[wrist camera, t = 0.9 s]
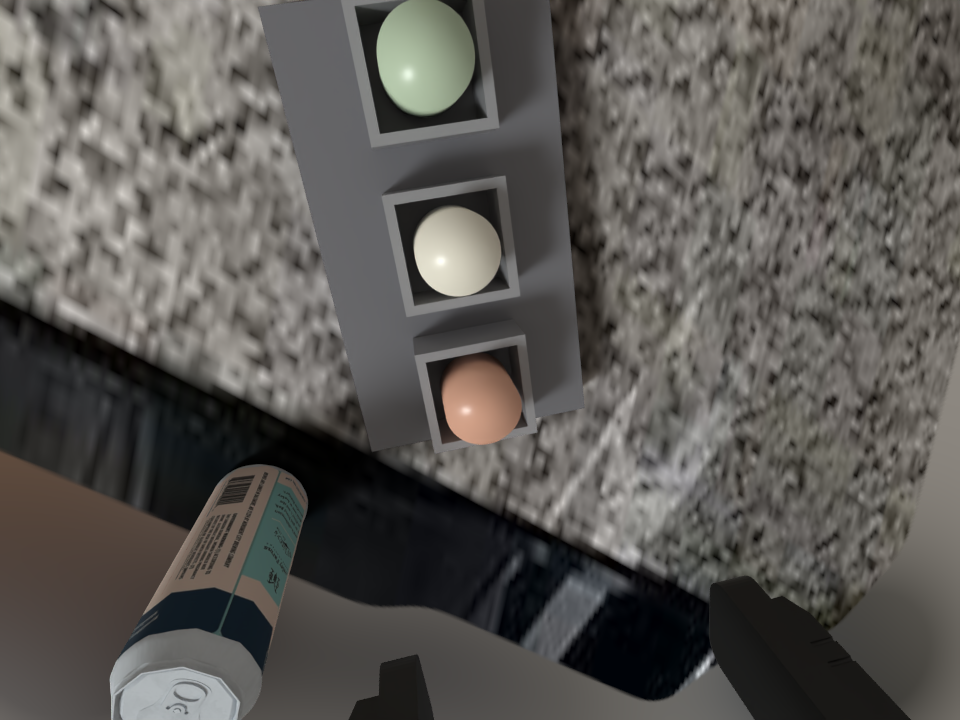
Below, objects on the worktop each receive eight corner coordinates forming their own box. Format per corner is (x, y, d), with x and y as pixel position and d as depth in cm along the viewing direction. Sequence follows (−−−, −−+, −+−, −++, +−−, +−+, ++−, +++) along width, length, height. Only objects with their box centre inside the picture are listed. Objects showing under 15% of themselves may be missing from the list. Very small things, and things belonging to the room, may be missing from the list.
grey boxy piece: (534, -13, 22) (566, -57, 18) (572, 392, 29) (602, 430, 25) (270, 21, 21) (238, -17, 17) (373, 433, 28) (369, 479, 24)
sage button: (457, 16, 19) (466, -9, 17) (470, 111, 20) (481, 102, 18) (370, 27, 19) (366, 4, 16) (389, 123, 20) (388, 116, 17)
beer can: (199, 514, 28) (69, 742, 17) (240, 444, 27) (131, 636, 16) (284, 547, 29) (215, 777, 18) (325, 482, 28) (280, 683, 17)
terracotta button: (503, 345, 24) (516, 367, 21) (512, 408, 25) (526, 435, 22) (434, 359, 24) (439, 382, 21) (446, 422, 25) (452, 451, 22)
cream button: (482, 198, 22) (495, 202, 19) (493, 275, 23) (506, 288, 20) (405, 211, 21) (407, 217, 19) (420, 288, 22) (423, 303, 20)
